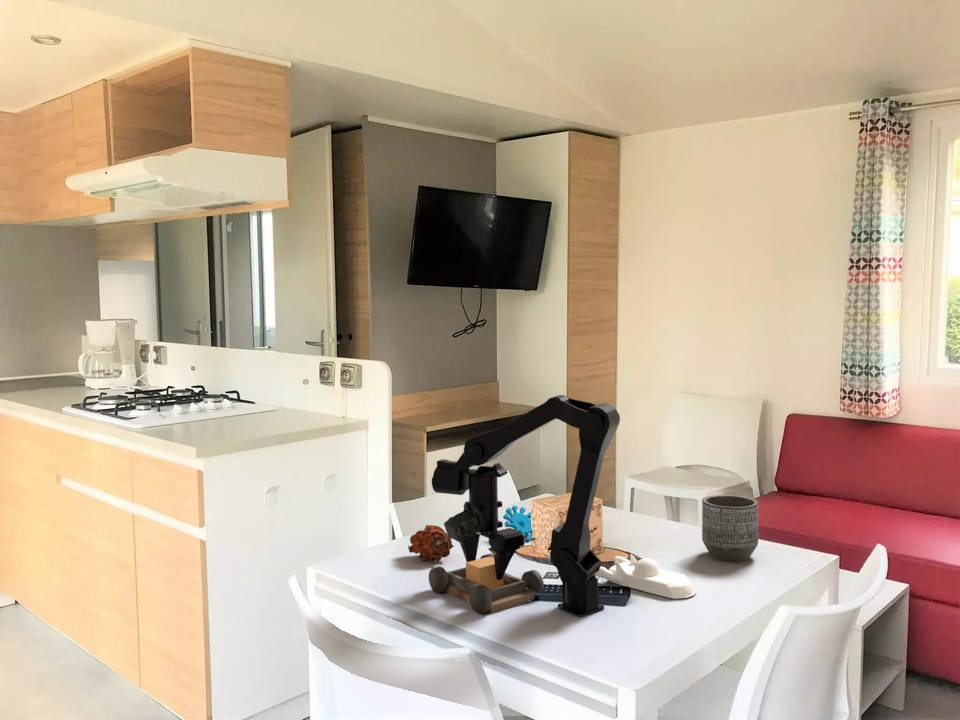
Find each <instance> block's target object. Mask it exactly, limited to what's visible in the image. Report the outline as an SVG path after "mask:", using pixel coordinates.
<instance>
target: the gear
mask: <svg viewBox="0 0 960 720" xmlns="http://www.w3.org/2000/svg"><path fill="white" fill-rule="evenodd" d="M518 509H519V512H518ZM526 511H527V509H526V508H525V507H523V506H521V507H520V508H518V506H516V505H513V506H512V507H507V508H506V509H505V512H506V513H504V515H503V517H502V518H503V520H506V521H505V522H504V527H506V528H512V529H515V530H518V531H521V532H522V533H523V534H524V536H525V537H524V541H526V542H531V541H532V535H530V534H532V529H531V520H532V518H531V513H532V512H531V511H530V512H528V514H524V513H525V512H526Z"/></svg>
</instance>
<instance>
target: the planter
mask: <svg viewBox="0 0 960 720" xmlns="http://www.w3.org/2000/svg"><path fill="white" fill-rule="evenodd" d="M701 501H702V504H701V506H702V507H701V508H702V510H701V513H702V516H701V519H702V521H701V522H702V523H701V524H702V526H701V527H702V528H701V539H702V542H703V544H704V546H705V549H706V550H707V551H708V553H709V554H710V556H711V557H712V558H713V559H716V560H718V561H723V562H730V563H739V562H745V561H747V560H749V559H750V557H751V556H752V554H753V553H754V552H755V550H756V548H757V546H758V544H759V501H758V500H757V499H754V498H751V497H748V496H744V495H735V494H714V495H713V494H712V495H707V496H705V497H703V498H702V500H701Z"/></svg>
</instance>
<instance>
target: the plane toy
mask: <svg viewBox="0 0 960 720" xmlns="http://www.w3.org/2000/svg"><path fill="white" fill-rule="evenodd" d="M629 556H630V558H629V559H628V558H626V557H623V556H619V555H616V556H615V557H614V561H613V563H614V565H612V566H610V568H609V569H607V568H606V567H604V566H600V569H599V571H598V572H596V573H595V574H594V575H595V576H598V577H597V578H600V577H601V578H600V579H604V580H607V581H608V582H609V583H614V584H617V585H621V586H623V587H627V586H628V587H629V588H631V589H635V590H638V591H642V592H646V593H650V594H654V595H658V596H660V597H664V598H670V599H687V598H688V599H689V598H690V597H694V595H696V593H698V592H697V590H696V589H695V587H694V585H693V583H692V582H691V581H690V579H689V578H688V577H687V575H685V574H683V573H678V572H673V571H669V570H666V569H665V570H664V569H661V568H660V566H659V564H658V563H657V561H656V560H654V559H651V558H646V557H644V558H642V559H639V560H637V559H636V558H635V556H634V555H633V554H631V553H630V555H629Z"/></svg>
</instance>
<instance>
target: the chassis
mask: <svg viewBox="0 0 960 720" xmlns="http://www.w3.org/2000/svg"><path fill="white" fill-rule="evenodd" d="M486 557H492V558H494V555H493V553H487V554H484V555H481V556H480V557H479V559H482V558H486ZM503 578H504V586H501V587H498V588H494V589H491V590H490V589H488V588H487V587H486V586H485V585H478V584H476V583H473V582H471V581H469V580H467V579H466V566H465V567H461V568H458V569H454V570H450V571H446V569H445V568H444V567H443V566H436V567H432V568H430V570H429V572H428V582H429V586H430V589H431V590H432V591H433V592H434V593H436V594H440V593H444V592H445V593H447V594H449V595H451V596H453V597H455V598H458V599H460V600H462V601H464V602H466V603H468V604H470V606H471V608H472V609H473V611H474V612H475V613H477V614H483V613H486V612H487V613H490V614H495V613H497V612H502V611H505V610H507V609H510V608H511V609H512V608H513V607H517V606H520V605H524V604H526V602H527V603H529V602H528V601H529V600H530V598H531V597H532V595H533V594H534V593H535V592H540V591H542V590H543V591H544V590H545V582H544V579H543V577H542V575H541V573H540V572H539V571H538V570H535V569H530V570H528V571H525V572H523V574H522V575H521V578H519V577H517V576H514V575H512V574H510V573H507V572H505V573H504V575H503ZM526 587H527V588H529V589H531V590H533V591H531V590H530V591H529V590H526ZM534 591H535V592H534Z"/></svg>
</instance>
